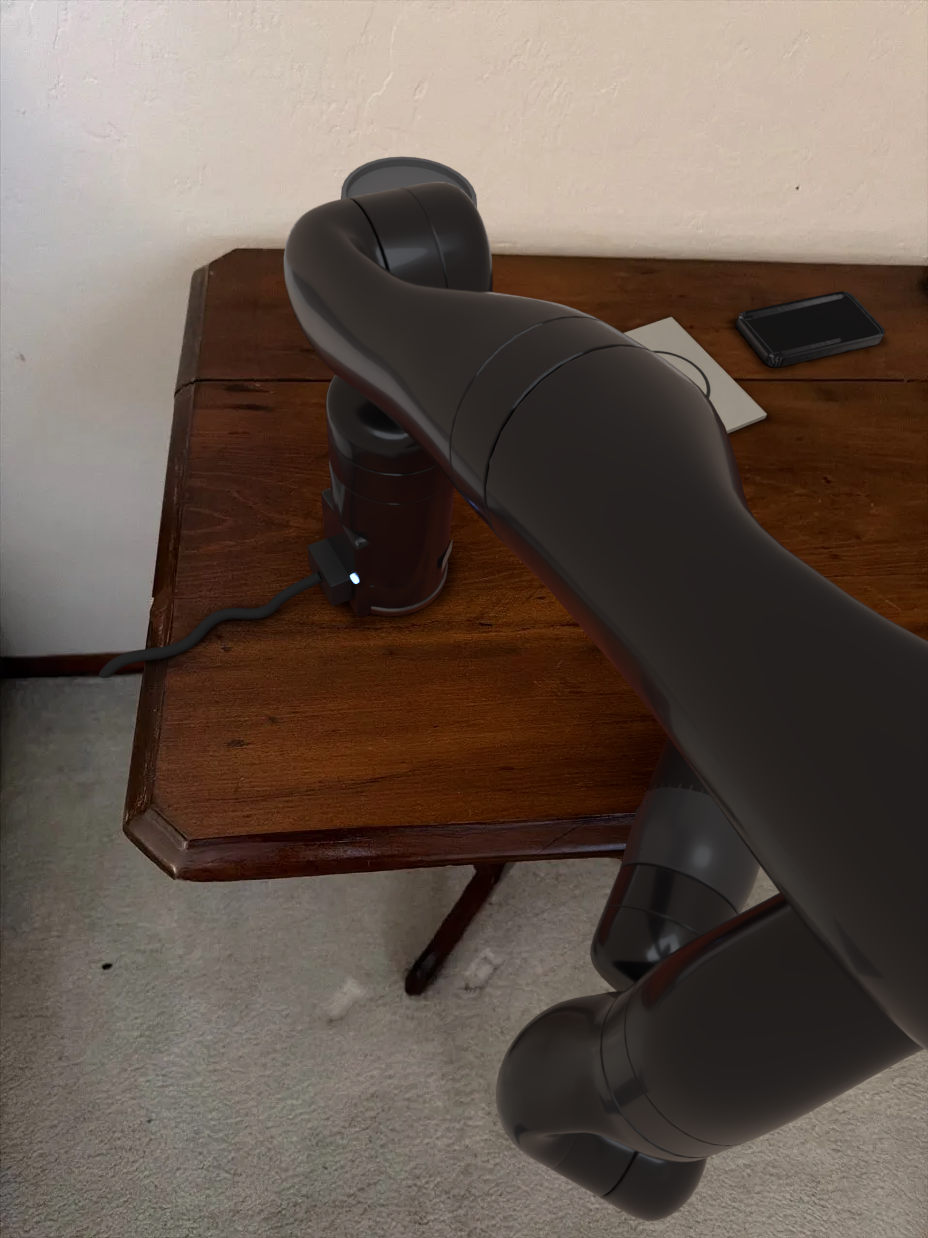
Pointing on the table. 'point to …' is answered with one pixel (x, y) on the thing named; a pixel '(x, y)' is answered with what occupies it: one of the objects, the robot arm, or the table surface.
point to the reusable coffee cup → (401, 176)
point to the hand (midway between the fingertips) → (775, 615)
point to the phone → (809, 328)
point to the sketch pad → (700, 371)
